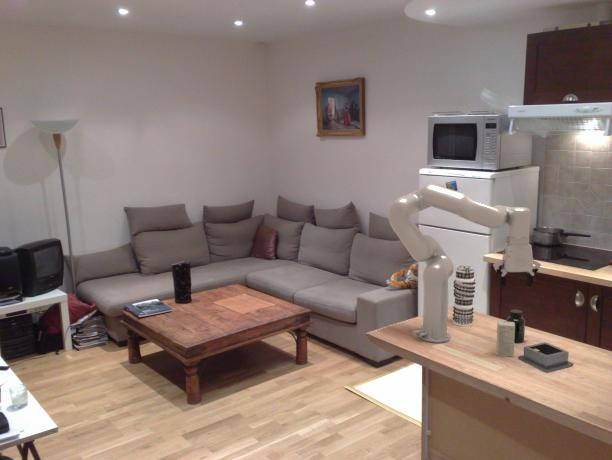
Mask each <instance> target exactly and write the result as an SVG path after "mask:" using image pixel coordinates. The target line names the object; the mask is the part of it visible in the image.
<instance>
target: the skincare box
mask: <svg viewBox="0 0 612 460" xmlns="http://www.w3.org/2000/svg"><path fill="white" fill-rule="evenodd" d="M496 325H497V326H496V352H495V353H496V356H502V357H513V358H514V357H515V355H514V354H515V353H514V352H515V343H514V338H515V322H507V320H506V321H504V320H497V324H496Z"/></svg>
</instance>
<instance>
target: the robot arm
mask: <svg viewBox="0 0 612 460" xmlns="http://www.w3.org/2000/svg"><path fill="white" fill-rule="evenodd" d="M431 207H432V208H436V209H438V210H441V211H445V212H447V213H451V214H454V215H456V216H458V217H459V218H463V219H464V220H467V221H469V222H471V223H474V224H476V225H480V226H482V227H486V228H489V229H499V228H501V227H503V225H504V226H505V225H507V233H506V234H507V235H506V237H503V239H502V240H503V242H505V244H504V248H503V252H502V259H501V260H500V259H499V261H497V262H494V263H493V264H492V266H493V268H494V271H495V272H496V273H498V275H499V284H500V286H501V287H502V288H505V287H506V284H507V278H506V277H507V276H506V275H507V274H508V273H527V274H526V281H525V282H526V283H525V285H527V286H528V287H532V284H533V281H534V276H535V274H536V273H537V272H538V271H539V269H540V267H541V266H542V264H541V263H539V262H538V261H535V260H534V257H533V255H534V254H533V249H532V244H530V227H531V226H530V225H531V209H529V207H525V206H524V207H523V206H513V207H512V206H506V205H500V204H497V205H494V206H489V205H486V204H482V203H480V202H477V201H476V200H475V201H474V200H473V199H472V198H471V197H469V196H468V195H467V194H466V193H463V192H460V191H457V190H454V189H451V188H447V187H445V186H444V184H442V183H441V182H437V181H434V182H430V183H427V184H425V185H423V187H421V188H419V189H417V190H414V191H412V192H410V193H407V194H405V195H403V196H400V197H397V198H396V199H395V200H394V201H393V202H392V203H391V205H390V207H389V210H388V216H387V217H388V222H389V224H390V227H391V229H392V230H393V232H394V233H395V234H396V236H397V237H398V239H399V240H400V242H401V243H402V245H403V246H404V248H405V249H406V250H407V252H408V254H409V255H410V256H411V257H412V259H413V260H415V261H416V262H419V263H425V264H426V266H425V267H424V270H423V273H422V281H423V306H422V307H423V309H422V311H423V312H422V325H421V326H420V328H419V329H417V330H413V331H412V335H413V336H418V338H419V339H420V340H422V341H424V342H428V343H434V344H435V343H436V344H439V343H446V342H447V343H448V342H449V341H450V340H451V334H450V333H449V332H448V316H449V315H448V313H449V312H448V311H449V279H450V278H451V276H452V275H453V273H454V269H455V268H454V263H453V262H452V259H451V258H450V257H449V255H448V253H446V251H445V250H444V248H443V247H442V245H441V244H440V243H439V241H438V240H437V239H436V238H434V237H433V236H431V235H427V234H423V232H421V231H420V229H419V227H418V226H417V224H416V223H414V221H413V220H412V219H411V216H414V215H415V214H418V213H420V212H421V211H424V210H427V209H428V208H431ZM500 266H501V268H502V269H500ZM533 266H534V267H533Z"/></svg>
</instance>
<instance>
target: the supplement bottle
mask: <svg viewBox="0 0 612 460" xmlns="http://www.w3.org/2000/svg"><path fill="white" fill-rule="evenodd" d="M523 315H524V313H523V310H520V309H511V310H509V316H508V317H507V319H506V322H515V338H514V344H520V343H523V342H524V341H525V332H526V319H525V318H524V317H523Z"/></svg>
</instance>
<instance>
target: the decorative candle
mask: <svg viewBox="0 0 612 460" xmlns="http://www.w3.org/2000/svg"><path fill="white" fill-rule="evenodd" d="M454 269H455V277H454V278H455V279H454V280H453V288H454V289H453V297H454V302H453V306H452V308H453V310H452V312H453V313H452V316H453V317H452V323H453V324H454V325H456V326H459V327H470V326H473V324H474V322H473V321H474V315H473V314H474V310H475V309H474V303H473V302H474V299H475V294H474V293H476V290H475V289H476V286H475V285H476V284H477V283H476V282H475V281H476V279H475V269H474V268H473V266H470V265H459V266H458V267H457V268H454Z"/></svg>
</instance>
